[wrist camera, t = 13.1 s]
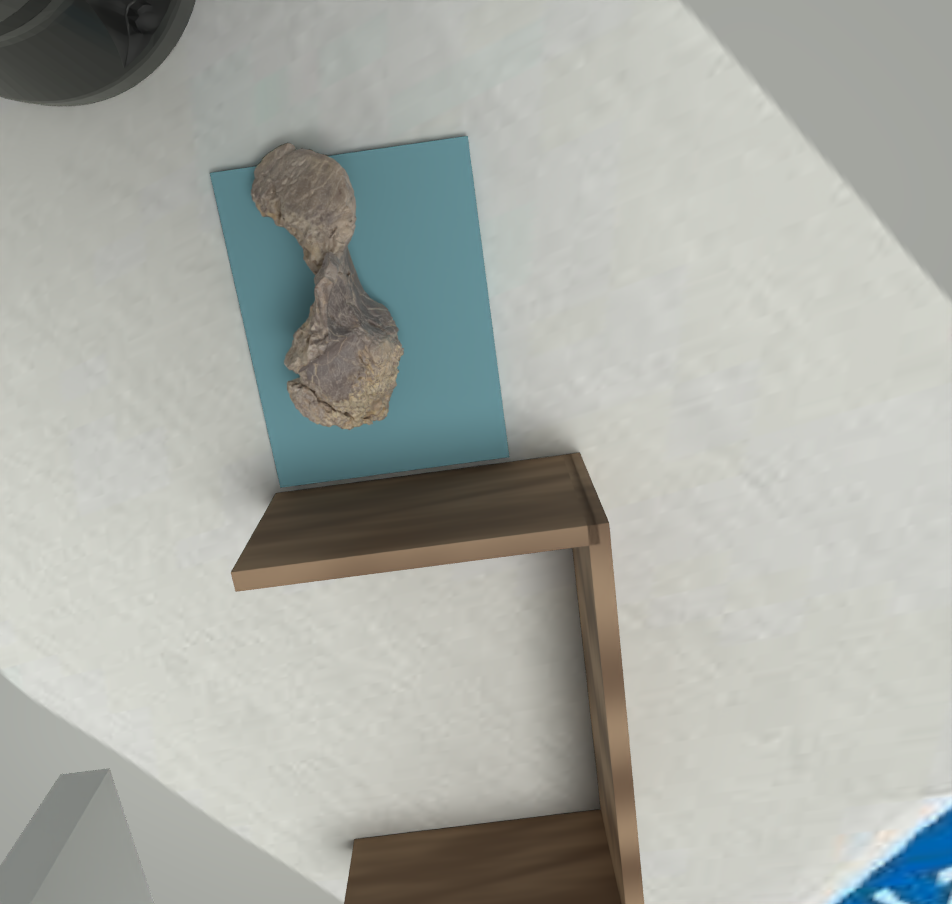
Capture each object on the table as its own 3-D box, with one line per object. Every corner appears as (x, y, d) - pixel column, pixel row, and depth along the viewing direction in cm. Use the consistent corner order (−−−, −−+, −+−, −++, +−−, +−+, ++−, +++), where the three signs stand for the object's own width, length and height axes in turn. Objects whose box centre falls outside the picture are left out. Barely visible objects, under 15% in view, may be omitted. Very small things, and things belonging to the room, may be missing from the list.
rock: (368, 131, 42) (350, 125, 35) (416, 409, 46) (409, 451, 40) (251, 150, 42) (210, 147, 35) (311, 424, 47) (285, 469, 40)
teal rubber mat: (213, 172, 43) (209, 173, 42) (467, 136, 42) (467, 135, 42) (282, 483, 48) (280, 487, 48) (508, 453, 48) (509, 457, 47)
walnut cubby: (275, 493, 48) (230, 572, 39) (579, 452, 48) (608, 523, 38) (356, 851, 57) (336, 988, 47) (616, 819, 56) (648, 951, 47)
